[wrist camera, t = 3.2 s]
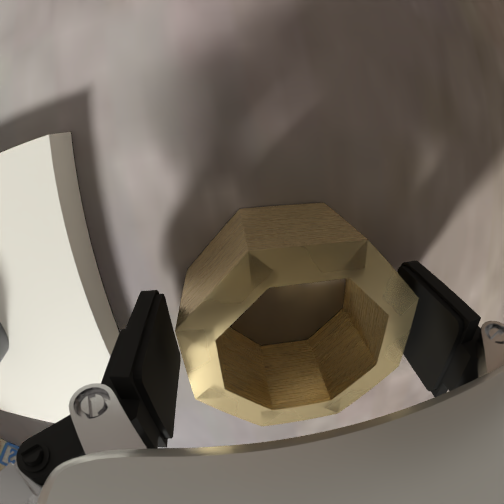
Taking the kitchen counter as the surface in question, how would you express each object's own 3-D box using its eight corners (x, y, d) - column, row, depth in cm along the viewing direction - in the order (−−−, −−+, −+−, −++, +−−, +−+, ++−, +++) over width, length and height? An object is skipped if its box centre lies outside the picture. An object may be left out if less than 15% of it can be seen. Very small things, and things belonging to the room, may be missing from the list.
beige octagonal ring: (375, 200, 10) (431, 233, 7) (356, 346, 13) (385, 400, 10) (178, 215, 10) (158, 259, 7) (207, 367, 13) (206, 430, 9)
